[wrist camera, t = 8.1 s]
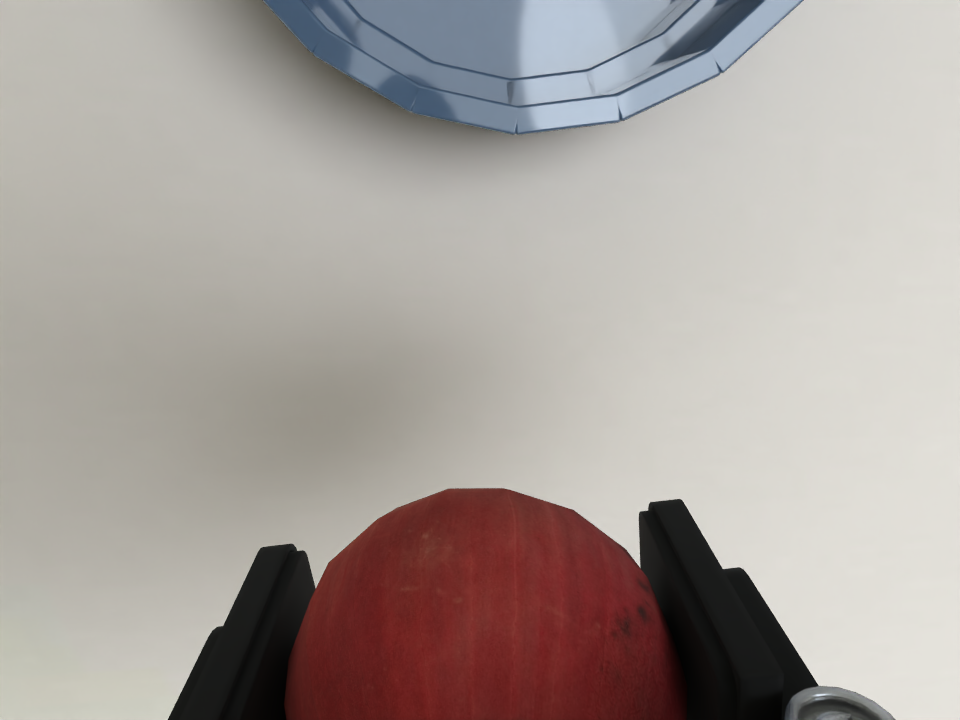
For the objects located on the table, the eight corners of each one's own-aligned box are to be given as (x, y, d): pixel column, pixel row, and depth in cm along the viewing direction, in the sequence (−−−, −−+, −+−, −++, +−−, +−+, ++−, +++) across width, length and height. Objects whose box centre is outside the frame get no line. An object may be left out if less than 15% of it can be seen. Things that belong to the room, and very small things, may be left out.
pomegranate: (630, 408, 12) (891, 842, 5) (608, 643, 14) (769, 1209, 7) (326, 410, 12) (114, 862, 5) (345, 648, 14) (219, 1234, 7)
